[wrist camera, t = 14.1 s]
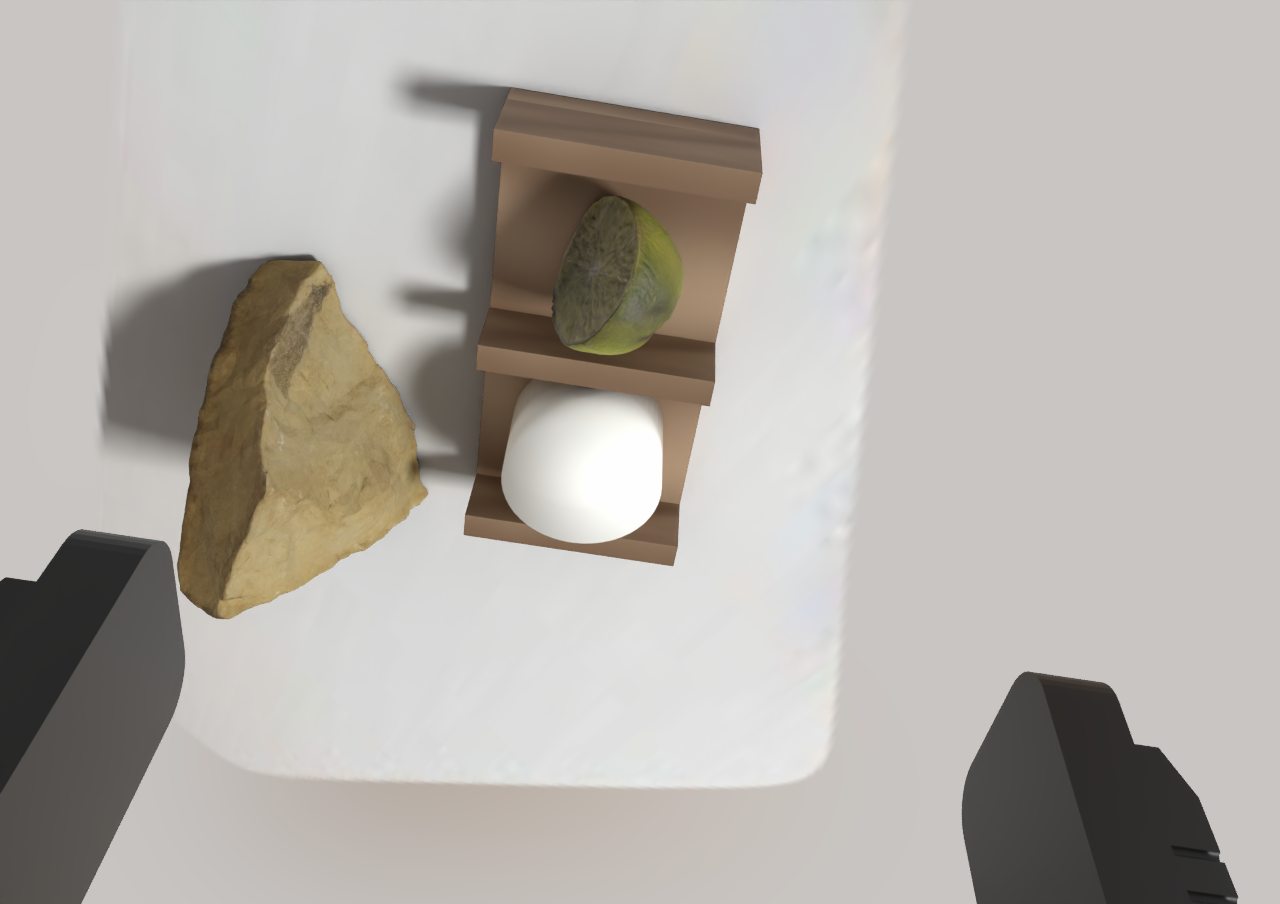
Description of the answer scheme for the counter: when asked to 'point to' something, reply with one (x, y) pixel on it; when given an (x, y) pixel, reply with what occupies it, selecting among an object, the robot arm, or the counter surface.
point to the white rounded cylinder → (583, 461)
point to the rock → (291, 447)
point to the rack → (531, 261)
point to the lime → (616, 279)
